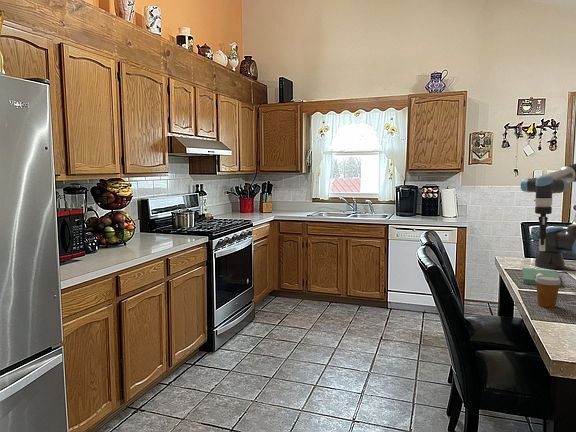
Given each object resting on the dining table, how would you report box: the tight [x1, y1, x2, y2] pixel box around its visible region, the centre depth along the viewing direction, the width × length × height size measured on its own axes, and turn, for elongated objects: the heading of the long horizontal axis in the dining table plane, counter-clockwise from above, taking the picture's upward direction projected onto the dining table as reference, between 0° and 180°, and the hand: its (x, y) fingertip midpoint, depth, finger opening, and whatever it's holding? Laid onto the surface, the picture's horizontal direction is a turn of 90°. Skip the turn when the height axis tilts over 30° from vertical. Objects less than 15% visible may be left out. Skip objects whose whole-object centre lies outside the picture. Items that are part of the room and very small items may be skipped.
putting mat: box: [521, 267, 562, 288], centre depth 226 cm, size 26×16×2 cm, turn 153°
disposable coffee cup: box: [535, 275, 562, 308], centre depth 184 cm, size 10×10×12 cm
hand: (542, 250), depth 228 cm, fingers closed
